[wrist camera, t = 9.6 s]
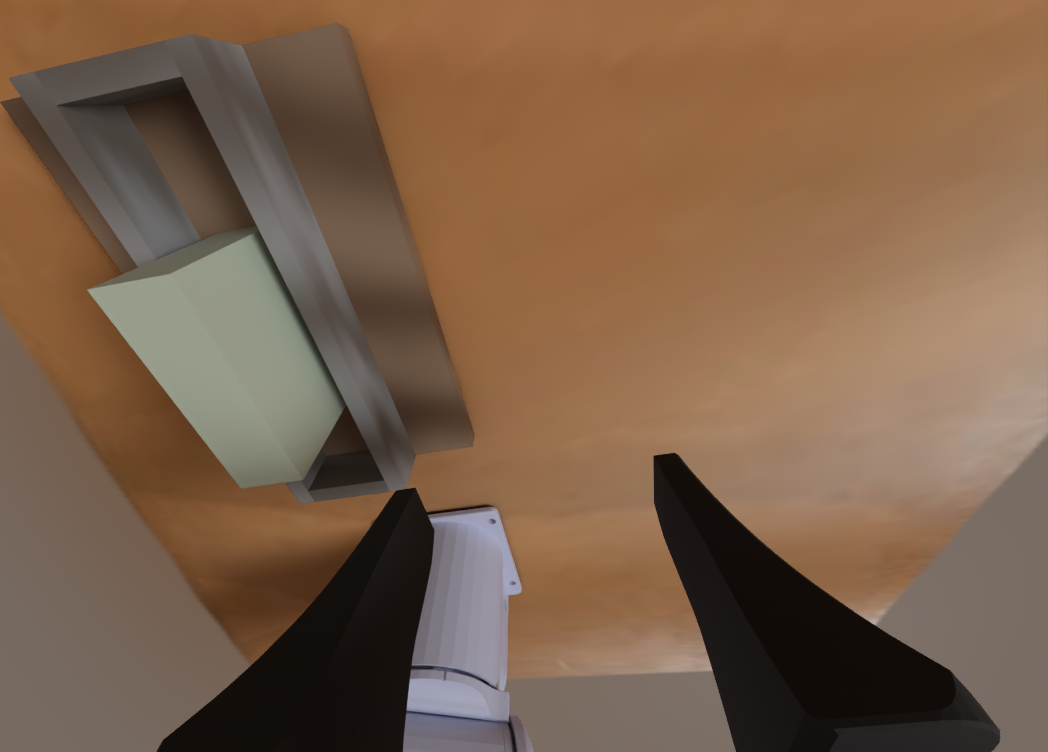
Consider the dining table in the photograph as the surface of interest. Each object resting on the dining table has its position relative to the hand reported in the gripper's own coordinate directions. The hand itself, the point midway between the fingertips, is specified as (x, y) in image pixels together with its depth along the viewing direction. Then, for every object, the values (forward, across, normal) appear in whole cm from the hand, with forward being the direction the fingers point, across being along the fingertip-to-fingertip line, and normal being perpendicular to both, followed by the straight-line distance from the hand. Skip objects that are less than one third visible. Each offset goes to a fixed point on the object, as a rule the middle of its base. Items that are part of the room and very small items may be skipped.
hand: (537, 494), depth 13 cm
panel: (+8, +10, -4) cm, 14 cm away
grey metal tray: (+9, +10, -4) cm, 14 cm away
